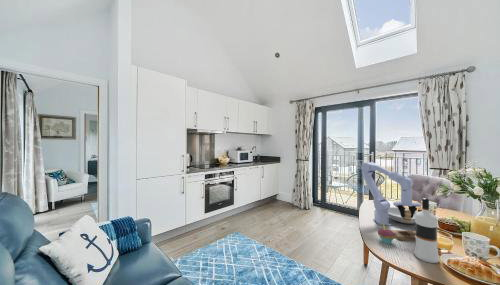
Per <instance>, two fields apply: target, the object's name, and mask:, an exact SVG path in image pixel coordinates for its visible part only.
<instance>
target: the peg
mask: <svg viewBox="0 0 500 285" xmlns="http://www.w3.org/2000/svg"><path fill="white" fill-rule="evenodd" d="M404 221H405V222H411V211H410V210H405V211H404Z"/></svg>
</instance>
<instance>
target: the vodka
mask: <svg viewBox="0 0 500 285" xmlns="http://www.w3.org/2000/svg"><path fill="white" fill-rule="evenodd" d="M421 207H422V208H421V211H417V212H418V213H416V214H415V223H414V225H415V231H416V235H415V237H416V241H415V248H414V252H413V253H414V254H413V255H414V256H415V257H416V258H417V259H419V260H420V261H423V262H424V263H430V264H437V263H439V262H440V256H439V251H438V243H439V241H438V218H437V217H436V216H435V214H433V213H431V212H430V199H429V198H426V197H422V198H421Z"/></svg>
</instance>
